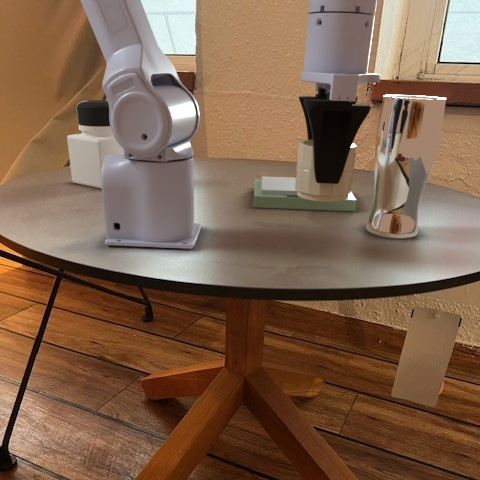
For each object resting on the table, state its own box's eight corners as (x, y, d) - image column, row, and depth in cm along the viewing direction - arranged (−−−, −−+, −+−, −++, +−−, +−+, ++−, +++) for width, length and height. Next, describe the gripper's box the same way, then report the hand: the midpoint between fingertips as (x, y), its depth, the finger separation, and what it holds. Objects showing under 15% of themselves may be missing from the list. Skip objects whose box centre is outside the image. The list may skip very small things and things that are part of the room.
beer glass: (351, 225, 63) (369, 94, 56) (398, 221, 65) (421, 95, 58) (382, 242, 57) (407, 99, 50) (433, 237, 59) (463, 99, 53)
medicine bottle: (136, 182, 81) (131, 101, 75) (103, 190, 76) (95, 103, 70) (105, 176, 84) (98, 98, 79) (71, 183, 79) (61, 100, 74)
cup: (295, 201, 48) (300, 146, 46) (293, 188, 53) (297, 138, 51) (353, 203, 48) (360, 149, 46) (345, 190, 53) (351, 140, 51)
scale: (253, 207, 69) (254, 191, 68) (254, 189, 79) (255, 175, 78) (355, 211, 69) (357, 195, 68) (344, 193, 79) (345, 178, 78)
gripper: (408, 9, 37) (379, 195, 43) (372, 22, 50) (353, 164, 56) (312, 6, 37) (296, 191, 43) (300, 20, 50) (289, 161, 56)
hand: (323, 176), depth 50 cm, fingers closed on cup, 5 cm apart
